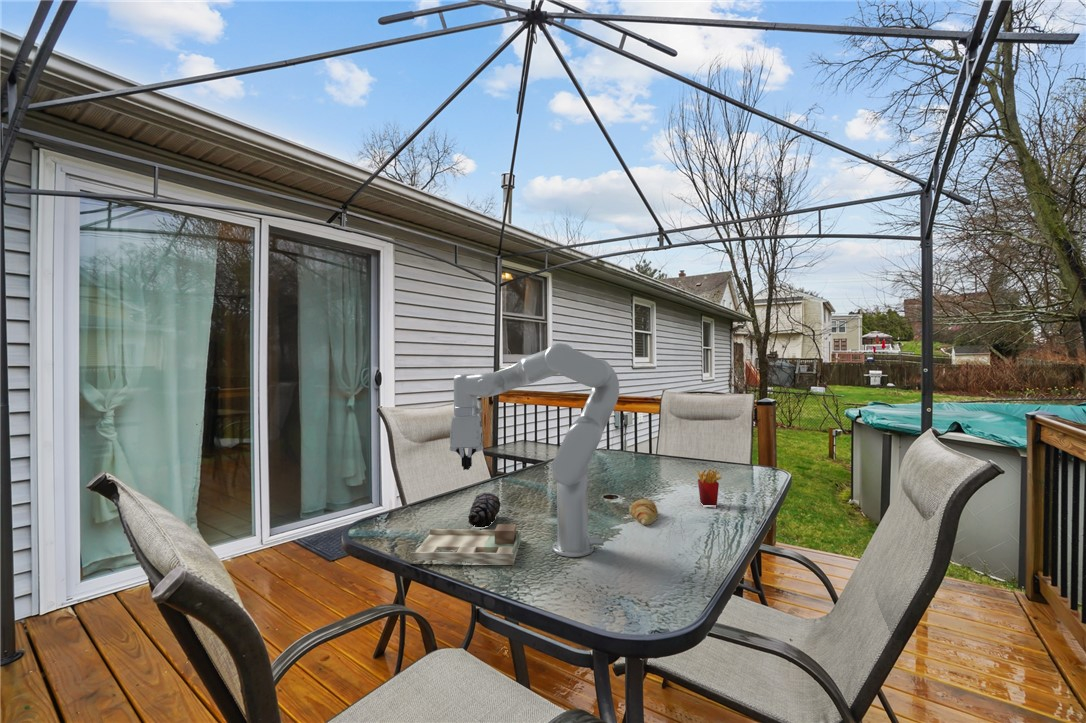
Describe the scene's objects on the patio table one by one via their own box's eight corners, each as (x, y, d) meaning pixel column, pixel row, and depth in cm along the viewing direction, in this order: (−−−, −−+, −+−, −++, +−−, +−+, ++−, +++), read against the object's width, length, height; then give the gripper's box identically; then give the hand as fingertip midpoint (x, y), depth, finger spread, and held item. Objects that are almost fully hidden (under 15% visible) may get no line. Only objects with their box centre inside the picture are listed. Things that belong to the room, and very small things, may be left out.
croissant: (654, 537, 167) (665, 517, 166) (628, 523, 168) (639, 503, 167) (648, 516, 188) (658, 498, 187) (625, 504, 189) (635, 486, 188)
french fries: (697, 503, 194) (696, 466, 194) (718, 503, 193) (717, 466, 193) (703, 510, 185) (703, 471, 185) (725, 510, 184) (725, 471, 184)
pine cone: (465, 532, 165) (464, 502, 165) (475, 515, 183) (475, 488, 183) (495, 532, 165) (494, 503, 165) (502, 515, 183) (502, 489, 183)
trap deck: (520, 540, 156) (520, 530, 156) (513, 566, 137) (513, 553, 137) (430, 539, 158) (430, 529, 158) (410, 564, 139) (410, 552, 139)
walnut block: (516, 536, 155) (516, 524, 155) (513, 543, 149) (513, 531, 149) (497, 536, 155) (497, 524, 155) (494, 543, 149) (494, 530, 149)
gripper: (490, 410, 159) (491, 466, 159) (445, 411, 160) (446, 466, 160) (486, 413, 151) (487, 471, 152) (440, 413, 152) (440, 471, 152)
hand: (466, 468), depth 156 cm, fingers closed
